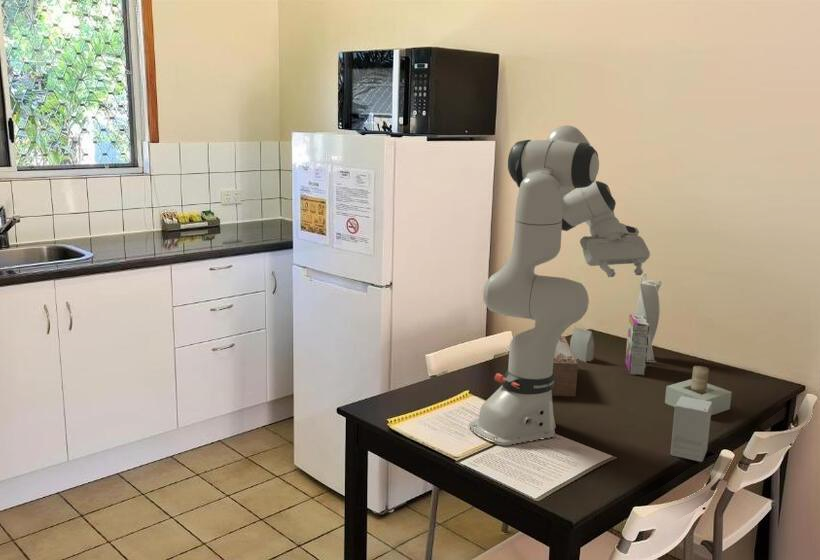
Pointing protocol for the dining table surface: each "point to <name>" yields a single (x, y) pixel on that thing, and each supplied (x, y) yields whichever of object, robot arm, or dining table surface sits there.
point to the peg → (699, 379)
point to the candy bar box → (637, 344)
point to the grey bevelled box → (582, 344)
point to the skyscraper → (649, 310)
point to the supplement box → (691, 428)
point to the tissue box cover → (564, 370)
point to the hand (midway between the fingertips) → (626, 275)
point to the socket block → (699, 395)
